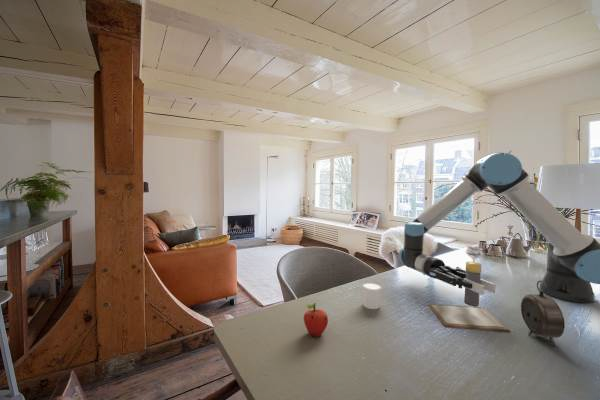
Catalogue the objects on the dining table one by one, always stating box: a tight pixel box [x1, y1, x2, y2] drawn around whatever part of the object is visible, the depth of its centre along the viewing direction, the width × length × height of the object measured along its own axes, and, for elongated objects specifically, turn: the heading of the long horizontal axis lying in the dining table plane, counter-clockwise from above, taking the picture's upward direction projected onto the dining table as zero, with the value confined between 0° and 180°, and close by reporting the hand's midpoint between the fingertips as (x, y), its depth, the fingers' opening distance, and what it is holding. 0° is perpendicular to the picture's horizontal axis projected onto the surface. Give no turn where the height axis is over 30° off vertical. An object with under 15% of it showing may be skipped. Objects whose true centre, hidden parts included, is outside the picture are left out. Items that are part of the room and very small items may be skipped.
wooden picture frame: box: [427, 303, 511, 332], centre depth 85 cm, size 18×14×1 cm
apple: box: [303, 302, 329, 337], centre depth 74 cm, size 8×7×10 cm
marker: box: [463, 261, 482, 307], centre depth 86 cm, size 4×4×14 cm
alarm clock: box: [520, 279, 565, 348], centre depth 73 cm, size 11×5×16 cm, turn 168°
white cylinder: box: [361, 282, 383, 310], centre depth 92 cm, size 7×7×7 cm
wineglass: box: [465, 245, 483, 262], centre depth 129 cm, size 7×7×12 cm
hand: (488, 289), depth 81 cm, fingers closed on marker, 4 cm apart
